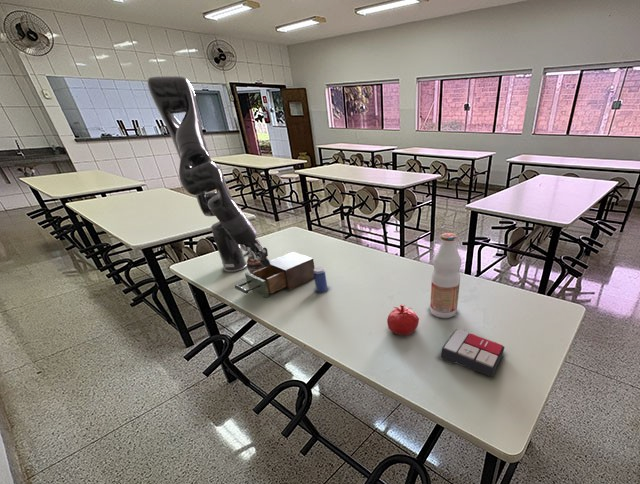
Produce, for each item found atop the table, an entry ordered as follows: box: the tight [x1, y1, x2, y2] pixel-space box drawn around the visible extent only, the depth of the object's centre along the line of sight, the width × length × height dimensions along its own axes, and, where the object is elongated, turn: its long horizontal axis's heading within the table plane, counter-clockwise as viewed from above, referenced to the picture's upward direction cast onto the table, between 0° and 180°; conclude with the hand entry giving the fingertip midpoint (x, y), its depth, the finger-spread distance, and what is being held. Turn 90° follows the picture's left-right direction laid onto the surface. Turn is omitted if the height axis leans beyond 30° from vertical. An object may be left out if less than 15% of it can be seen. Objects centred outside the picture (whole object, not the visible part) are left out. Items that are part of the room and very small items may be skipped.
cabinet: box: [268, 251, 316, 291], centre depth 132 cm, size 14×13×9 cm
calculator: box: [440, 328, 505, 378], centre depth 91 cm, size 11×4×15 cm
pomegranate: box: [386, 304, 420, 336], centre depth 101 cm, size 10×10×9 cm
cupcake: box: [246, 253, 269, 275], centre depth 135 cm, size 10×10×10 cm
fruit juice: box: [429, 232, 462, 319], centre depth 105 cm, size 9×9×28 cm
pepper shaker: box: [313, 266, 329, 293], centre depth 124 cm, size 4×4×9 cm
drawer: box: [233, 266, 287, 299], centre depth 122 cm, size 19×12×7 cm, turn 144°
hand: (267, 264), depth 112 cm, fingers closed
